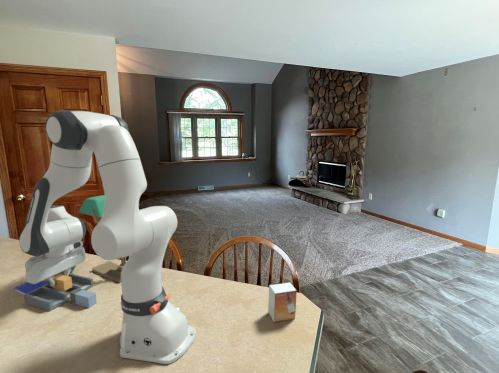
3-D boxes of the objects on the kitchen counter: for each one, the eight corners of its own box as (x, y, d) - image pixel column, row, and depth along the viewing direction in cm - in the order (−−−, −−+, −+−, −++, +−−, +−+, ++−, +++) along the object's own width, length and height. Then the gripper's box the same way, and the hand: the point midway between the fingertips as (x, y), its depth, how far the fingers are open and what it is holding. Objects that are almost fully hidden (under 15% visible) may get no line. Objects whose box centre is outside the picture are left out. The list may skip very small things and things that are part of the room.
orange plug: (72, 286, 102) (71, 276, 101) (64, 291, 99) (63, 280, 99) (56, 282, 105) (54, 272, 104) (47, 286, 102) (46, 276, 102)
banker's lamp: (111, 287, 108) (104, 202, 102) (82, 274, 118) (74, 196, 112) (144, 271, 121) (139, 195, 115) (115, 260, 131) (109, 190, 125)
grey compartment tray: (93, 286, 108) (92, 278, 108) (50, 310, 93) (49, 302, 92) (70, 280, 113) (69, 273, 112) (25, 302, 97) (24, 294, 96)
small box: (273, 322, 88) (274, 293, 86) (267, 312, 94) (268, 284, 92) (295, 318, 90) (297, 290, 89) (289, 308, 96) (290, 281, 94)
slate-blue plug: (96, 303, 97) (95, 292, 97) (89, 308, 95) (88, 297, 94) (78, 298, 100) (77, 288, 100) (70, 302, 98) (69, 292, 97)
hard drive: (13, 287, 105) (31, 295, 100) (37, 277, 112) (55, 285, 107) (14, 291, 105) (32, 299, 100) (37, 281, 113) (55, 288, 107)
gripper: (30, 261, 89) (36, 299, 91) (86, 240, 108) (89, 272, 110) (18, 258, 91) (23, 295, 93) (75, 238, 110) (78, 269, 112)
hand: (59, 282), depth 102 cm, fingers closed on orange plug, 3 cm apart
